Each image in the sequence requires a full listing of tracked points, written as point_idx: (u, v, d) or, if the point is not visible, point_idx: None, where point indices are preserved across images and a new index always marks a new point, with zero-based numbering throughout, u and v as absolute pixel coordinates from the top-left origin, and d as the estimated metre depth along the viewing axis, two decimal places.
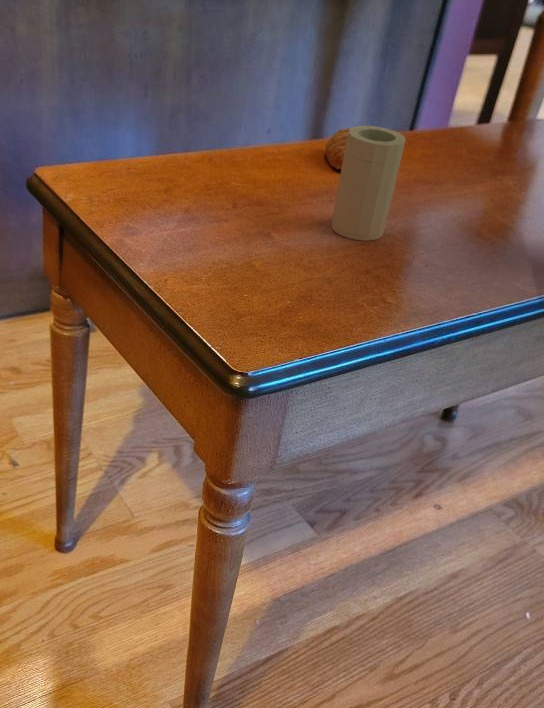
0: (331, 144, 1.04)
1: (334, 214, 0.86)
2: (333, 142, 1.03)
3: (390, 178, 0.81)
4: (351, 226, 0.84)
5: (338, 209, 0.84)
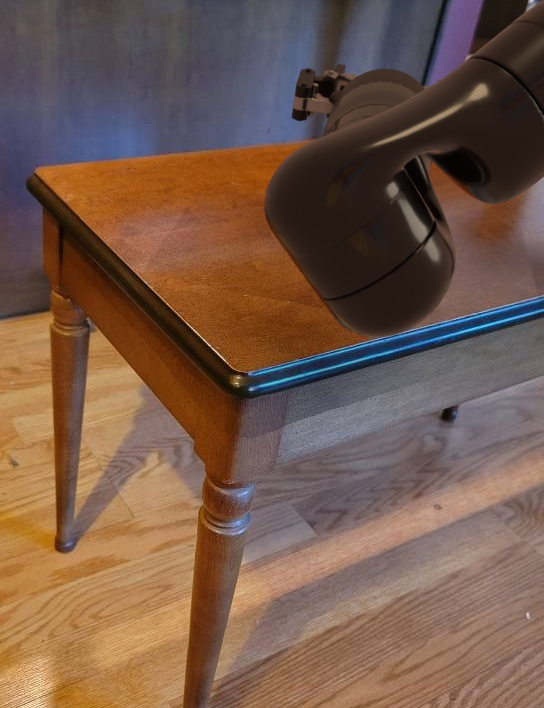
0: None
1: None
2: None
3: None
4: None
5: None
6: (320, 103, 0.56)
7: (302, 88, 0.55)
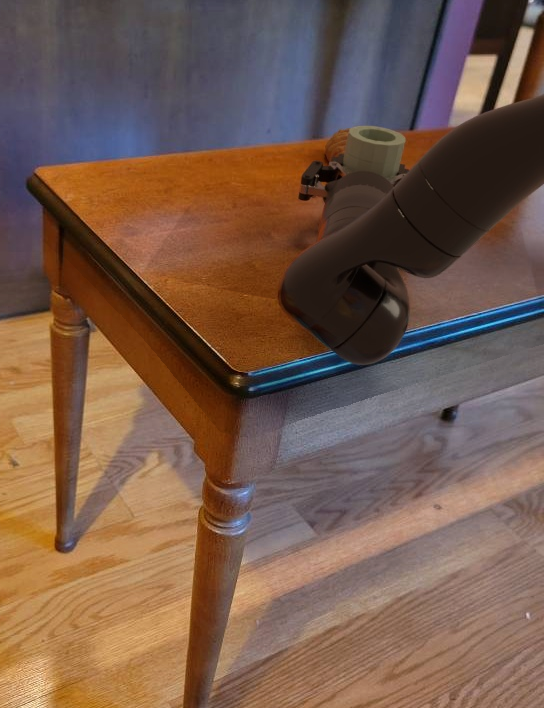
0: (331, 144, 1.04)
1: None
2: (333, 142, 1.03)
3: None
4: None
5: None
6: (318, 190, 0.77)
7: (305, 178, 0.77)
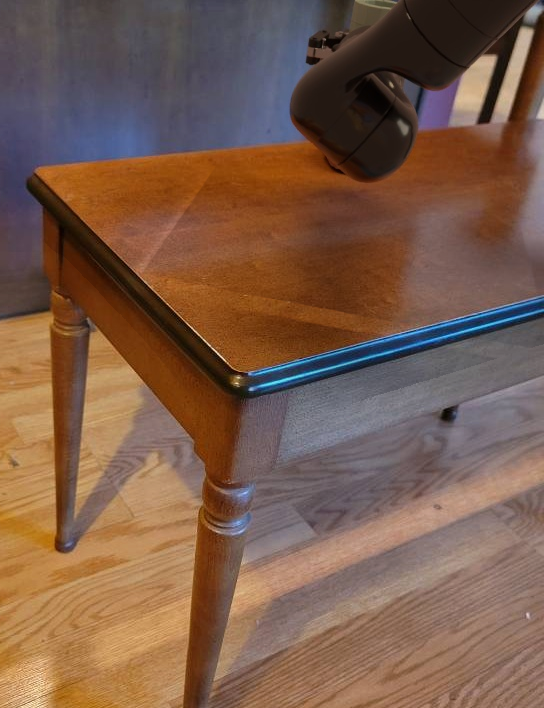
0: None
1: None
2: None
3: None
4: None
5: None
6: (325, 52, 0.79)
7: (312, 40, 0.78)
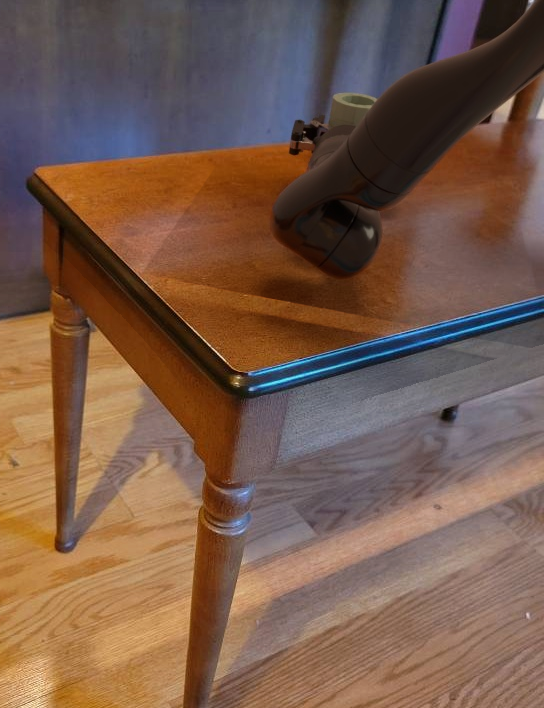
0: None
1: None
2: None
3: None
4: None
5: None
6: (307, 144, 0.87)
7: (295, 135, 0.87)
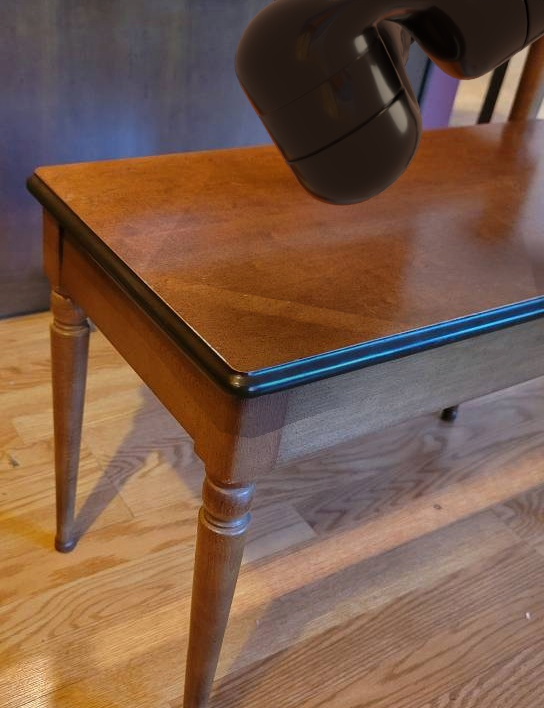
0: None
1: None
2: None
3: None
4: None
5: None
6: None
7: None
